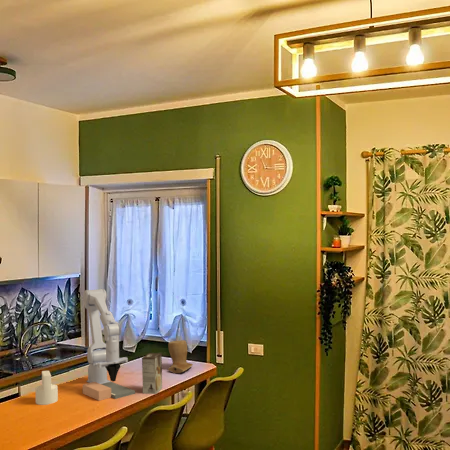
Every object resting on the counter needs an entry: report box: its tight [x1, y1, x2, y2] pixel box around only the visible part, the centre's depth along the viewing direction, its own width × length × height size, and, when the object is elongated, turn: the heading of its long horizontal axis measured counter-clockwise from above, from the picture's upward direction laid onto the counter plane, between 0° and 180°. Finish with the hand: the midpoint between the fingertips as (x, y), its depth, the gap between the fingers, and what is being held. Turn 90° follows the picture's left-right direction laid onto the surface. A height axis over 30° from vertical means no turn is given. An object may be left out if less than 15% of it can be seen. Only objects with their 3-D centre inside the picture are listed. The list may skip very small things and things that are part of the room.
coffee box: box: [141, 352, 163, 395], centre depth 246 cm, size 9×6×16 cm
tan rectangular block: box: [82, 382, 112, 402], centre depth 240 cm, size 14×6×4 cm, turn 43°
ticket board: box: [102, 381, 136, 400], centre depth 246 cm, size 20×10×2 cm, turn 43°
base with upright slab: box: [35, 370, 59, 406], centre depth 234 cm, size 9×9×12 cm
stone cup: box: [167, 339, 194, 374], centre depth 280 cm, size 15×12×15 cm
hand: (113, 380), depth 246 cm, fingers closed
